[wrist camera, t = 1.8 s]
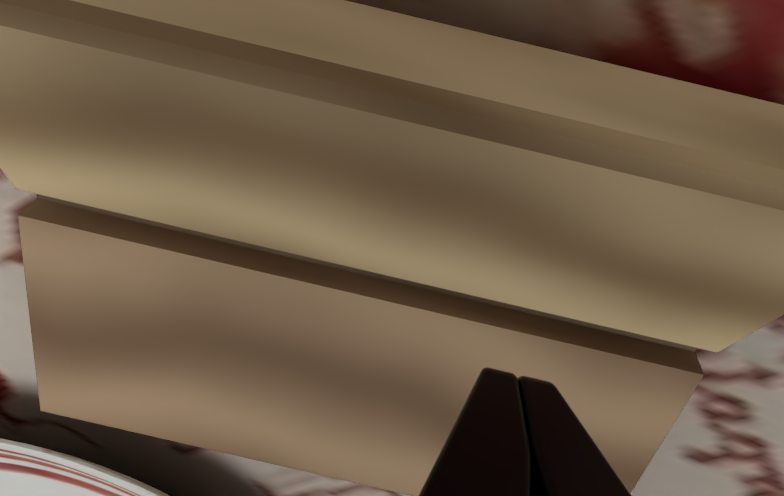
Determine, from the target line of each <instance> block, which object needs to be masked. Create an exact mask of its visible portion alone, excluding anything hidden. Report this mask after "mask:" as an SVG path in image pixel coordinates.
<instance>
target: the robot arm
mask: <svg viewBox="0 0 784 496" xmlns="http://www.w3.org/2000/svg"><path fill="white" fill-rule="evenodd" d="M419 496H631V494H630V493H629V491H628V490H627V489H626V487H625V486H624V484H623V483H622V481H621V480H620V478H619V477H618V476H617V474H616V473H615V471H614V470H613V468H612V467H611V465H610V464H609V463H608V461H607V460H606V458H605V457H604V455H603V454H602V452H601V451H600V450H599V448H598V447H597V445H596V444H595V442H594V441H593V439H592V438H591V437H590V435H589V434H588V432H587V431H586V429H585V428H584V426H583V425H582V424H581V422H580V421H579V419H578V418H577V416H576V415H575V413H574V412H573V410H572V409H571V408H570V406H569V405H568V403H567V402H566V400H565V399H564V397H563V396H562V395H561V393H560V392H559V390H558V389H557V387H556V386H555V385H554V384H552V383H551V382H548V381H545V380H540V379H536V378H532V377H527V376H521V377H518V378H517V377H516V376H515V375H514V374H513V373H510V372H506V371H501V370H497V369H493V368H488V367H486V368H483V369H482V370H481V372H480V374H479V376H478V378H477V380H476V382H475V384H474V386H473V388H472V390H471V392H470V394H469V396H468V398H467V400H466V402H465V404H464V406H463V408H462V410H461V412H460V414H459V416H458V418H457V420H456V422H455V424H454V426H453V428H452V430H451V432H450V434H449V436H448V438H447V440H446V442H445V444H444V446H443V448H442V450H441V452H440V454H439V456H438V458H437V460H436V462H435V464H434V466H433V468H432V470H431V472H430V474H429V476H428V478H427V480H426V482H425V484H424V486H423V488H422V490H421V492H420V494H419Z"/></svg>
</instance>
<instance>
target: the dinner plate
mask: <svg viewBox="0 0 784 496" xmlns="http://www.w3.org/2000/svg"><path fill="white" fill-rule="evenodd" d="M0 496H169V495H167V494H166V493H164V492H162V491H160V490H158V489H156V488H153V487H151V486H149V485H147V484H144V483H142V482H140V481H138V480H136V479H133V478H131V477H129V476H126V475H124V474H121V473H119V472H116V471H114V470H111V469H108V468H106V467H103V466H100V465H98V464H95V463H92V462H89V461H86V460H83V459H80V458H77V457H74V456H71V455H67V454H64V453H60V452H56V451H53V450H49V449H46V448H42V447H38V446H34V445H31V444H26V443H21V442H15V441H10V440H6V439H1V438H0Z"/></svg>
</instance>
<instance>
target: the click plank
mask: <svg viewBox="0 0 784 496" xmlns="http://www.w3.org/2000/svg"><path fill="white" fill-rule="evenodd" d="M0 168H1V169H2V171H3V172H4V173H5V175H6V176H7V178H8V179H9V180H10V182H11V183H12V185H13V186H14V187H15V189H18V190H22V191H27V192H31V193H35V194H40V195H44V196H48V197H52V198H57V199H61V200H65V201H70V202H74V203H78V204H82V205H87V206H91V207H95V208H100V209H104V210H108V211H112V212H117V213H121V214H125V215H130V216H134V217H138V218H142V219H147V220H151V221H155V222H160V223H164V224H168V225H172V226H177V227H181V228H185V229H190V230H194V231H198V232H203V233H207V234H211V235H215V236H220V237H224V238H228V239H233V240H237V241H241V242H245V243H250V244H254V245H258V246H263V247H267V248H271V249H275V250H280V251H284V252H288V253H293V254H297V255H301V256H305V257H310V258H314V259H318V260H323V261H327V262H331V263H335V264H340V265H344V266H348V267H353V268H357V269H361V270H365V271H370V272H374V273H378V274H383V275H387V276H391V277H395V278H400V279H404V280H408V281H413V282H417V283H421V284H426V285H430V286H434V287H438V288H443V289H447V290H451V291H456V292H460V293H464V294H468V295H473V296H477V297H481V298H486V299H490V300H494V301H498V302H503V303H507V304H511V305H516V306H520V307H524V308H528V309H533V310H537V311H541V312H546V313H550V314H554V315H558V316H563V317H567V318H571V319H576V320H580V321H584V322H588V323H593V324H597V325H601V326H606V327H610V328H614V329H618V330H623V331H627V332H631V333H636V334H640V335H644V336H648V337H653V338H657V339H661V340H666V341H670V342H674V343H679V344H683V345H687V346H691V347H696V348H700V349H704V350H709V351H713V352H719V351H721V350H723V349H724V348H726V347H728V346H730V345H731V344H733V343H735V342H737V341H738V340H740V339H742V338H744V337H745V336H747V335H749V334H751V333H753V332H754V331H756V330H758V329H760V328H761V327H763V326H765V325H767V324H768V323H770V322H772V321H774V320H775V319H777V318H779V317H781V316H782V315H784V105H781V104H777V103H773V102H769V101H765V100H760V99H756V98H752V97H748V96H744V95H740V94H735V93H731V92H727V91H723V90H719V89H714V88H710V87H706V86H702V85H698V84H693V83H689V82H685V81H681V80H677V79H673V78H668V77H664V76H660V75H656V74H652V73H647V72H643V71H639V70H635V69H631V68H627V67H622V66H618V65H614V64H610V63H606V62H601V61H597V60H593V59H589V58H585V57H580V56H576V55H572V54H568V53H564V52H560V51H555V50H551V49H547V48H543V47H539V46H534V45H530V44H526V43H522V42H518V41H514V40H509V39H505V38H501V37H497V36H493V35H488V34H484V33H480V32H476V31H472V30H467V29H463V28H459V27H455V26H451V25H447V24H442V23H438V22H434V21H430V20H426V19H421V18H417V17H413V16H409V15H405V14H401V13H396V12H392V11H388V10H384V9H380V8H375V7H371V6H367V5H363V4H359V3H354V2H350V1H346V0H0Z"/></svg>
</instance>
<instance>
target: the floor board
mask: <svg viewBox="0 0 784 496" xmlns="http://www.w3.org/2000/svg"><path fill="white" fill-rule="evenodd" d="M18 220H19V229H20V237H21V246H22V255H23V263H24V272H25V281H26V289H27V298H28V307H29V315H30V324H31V333H32V341H33V350H34V359H35V367H36V376H37V385H38V394H39V402H40V411H44V412H48V413H52V414H57V415H61V416H65V417H70V418H74V419H79V420H83V421H87V422H92V423H96V424H100V425H105V426H109V427H114V428H118V429H122V430H127V431H131V432H135V433H140V434H144V435H149V436H153V437H157V438H162V439H166V440H170V441H175V442H179V443H184V444H188V445H192V446H197V447H201V448H205V449H210V450H214V451H219V452H223V453H227V454H232V455H236V456H240V457H245V458H249V459H254V460H258V461H262V462H267V463H271V464H275V465H280V466H284V467H289V468H293V469H297V470H302V471H306V472H310V473H315V474H319V475H324V476H328V477H332V478H337V479H341V480H346V481H350V482H354V483H359V484H363V485H367V486H372V487H376V488H381V489H385V490H389V491H394V492H398V493H402V494H407V495H411V496H419V494H420V492H421V490H422V488H423V486H424V484H425V482H426V480H427V478H428V476H429V474H430V472H431V470H432V468H433V466H434V464H435V462H436V460H437V458H438V456H439V454H440V452H441V450H442V448H443V446H444V444H445V442H446V440H447V438H448V436H449V434H450V432H451V430H452V428H453V426H454V424H455V422H456V420H457V418H458V416H459V414H460V412H461V410H462V408H463V406H464V404H465V402H466V400H467V398H468V396H469V394H470V392H471V390H472V388H473V386H474V384H475V382H476V380H477V378H478V376H479V374H480V372H481V370H482V369H483V368H486V367H488V368H493V369H497V370H501V371H506V372H510V373H513V374H514V375H515V376H516V377H517V378H518V377H521V376H527V377H532V378H536V379H540V380H545V381H548V382H551V383H552V384H554V385H555V386H556V387H557V389H558V390H559V392H560V393H561V395H562V396H563V397H564V399H565V400H566V402H567V403H568V405H569V406H570V408H571V409H572V410H573V412H574V413H575V415H576V416H577V418H578V419H579V421H580V422H581V424H582V425H583V426H584V428H585V429H586V431H587V432H588V434H589V435H590V437H591V438H592V439H593V441H594V442H595V444H596V445H597V447H598V448H599V450H600V451H601V452H602V454H603V455H604V457H605V458H606V460H607V461H608V463H609V464H610V465H611V467H612V468H613V470H614V471H615V473H616V474H617V476H618V477H619V478H620V480H621V481H622V483H623V484H624V486H625V487H626V489H627V490H628V491H629V493H631V491H632V490H633V488H634V487H635V485H636V483H637V482H638V480H639V479H640V477H641V475H642V474H643V472H644V471H645V469H646V467H647V466H648V464H649V463H650V461H651V459H652V458H653V456H654V454H655V453H656V451H657V450H658V448H659V446H660V445H661V443H662V442H663V440H664V438H665V437H666V435H667V434H668V432H669V430H670V429H671V427H672V426H673V424H674V422H675V421H676V419H677V418H678V416H679V414H680V413H681V411H682V410H683V408H684V406H685V405H686V403H687V401H688V400H689V398H690V397H691V395H692V393H693V392H694V390H695V389H696V387H697V385H698V384H699V382H700V381H701V379H702V377H703V376H704V374H703V371H702V369H701V366H700V364H699V361H698V359H697V356H696V354H695V351H696V349H697V348H696V347H691V346H687V345H683V344H679V343H674V342H670V341H666V340H661V339H657V338H653V337H648V336H644V335H640V334H636V333H631V332H627V331H623V330H618V329H614V328H610V327H606V326H601V325H597V324H593V323H588V322H584V321H580V320H576V319H571V318H567V317H563V316H558V315H554V314H550V313H546V312H541V311H537V310H533V309H528V308H524V307H520V306H516V305H511V304H507V303H503V302H498V301H494V300H490V299H486V298H481V297H477V296H473V295H468V294H464V293H460V292H456V291H451V290H447V289H443V288H438V287H434V286H430V285H426V284H421V283H417V282H413V281H408V280H404V279H400V278H395V277H391V276H387V275H383V274H378V273H374V272H370V271H365V270H361V269H357V268H353V267H348V266H344V265H340V264H335V263H331V262H327V261H323V260H318V259H314V258H310V257H305V256H301V255H297V254H293V253H288V252H284V251H280V250H275V249H271V248H267V247H263V246H258V245H254V244H250V243H245V242H241V241H237V240H233V239H228V238H224V237H220V236H215V235H211V234H207V233H203V232H198V231H194V230H190V229H185V228H181V227H177V226H172V225H168V224H164V223H160V222H155V221H151V220H147V219H142V218H138V217H134V216H130V215H125V214H121V213H117V212H112V211H108V210H104V209H100V208H95V207H91V206H87V205H82V204H78V203H74V202H70V201H65V200H61V199H57V198H52V197H48V196H44V195H40V194H37V200H35V201H34V202H33V203H32V204H31V205H30V206H28V207H27V208H26V209H25V210H24V211H23V212H21V213H20V214H19V215H18Z"/></svg>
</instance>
